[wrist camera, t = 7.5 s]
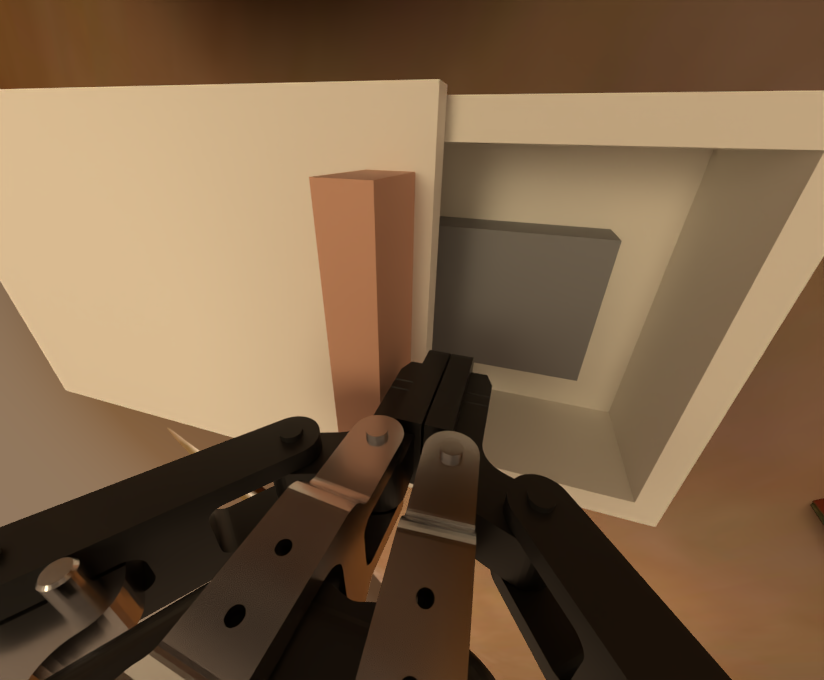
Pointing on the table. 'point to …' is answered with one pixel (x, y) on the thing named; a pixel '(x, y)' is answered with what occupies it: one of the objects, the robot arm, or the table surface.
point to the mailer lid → (226, 243)
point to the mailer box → (622, 272)
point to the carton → (819, 508)
